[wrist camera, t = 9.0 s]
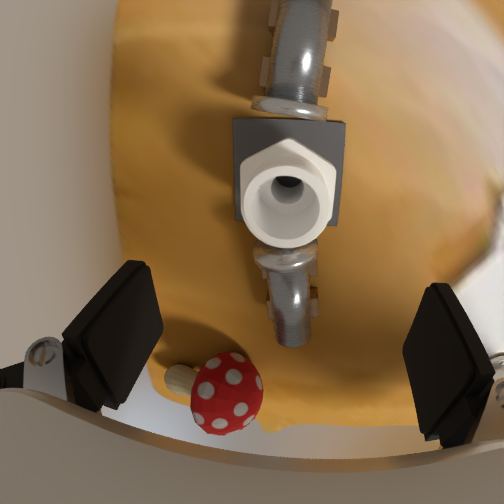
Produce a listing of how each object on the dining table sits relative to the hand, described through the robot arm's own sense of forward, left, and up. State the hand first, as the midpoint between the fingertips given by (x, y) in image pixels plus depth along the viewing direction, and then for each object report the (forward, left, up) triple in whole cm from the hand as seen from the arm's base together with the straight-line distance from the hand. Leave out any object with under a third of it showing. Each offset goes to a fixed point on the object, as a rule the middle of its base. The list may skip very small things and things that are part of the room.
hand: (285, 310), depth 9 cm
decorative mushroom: (-25, +9, -17) cm, 31 cm away
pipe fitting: (0, 0, -17) cm, 17 cm away
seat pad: (0, 0, -17) cm, 17 cm away
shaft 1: (+10, 0, -17) cm, 20 cm away
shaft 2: (-10, 0, -17) cm, 19 cm away
